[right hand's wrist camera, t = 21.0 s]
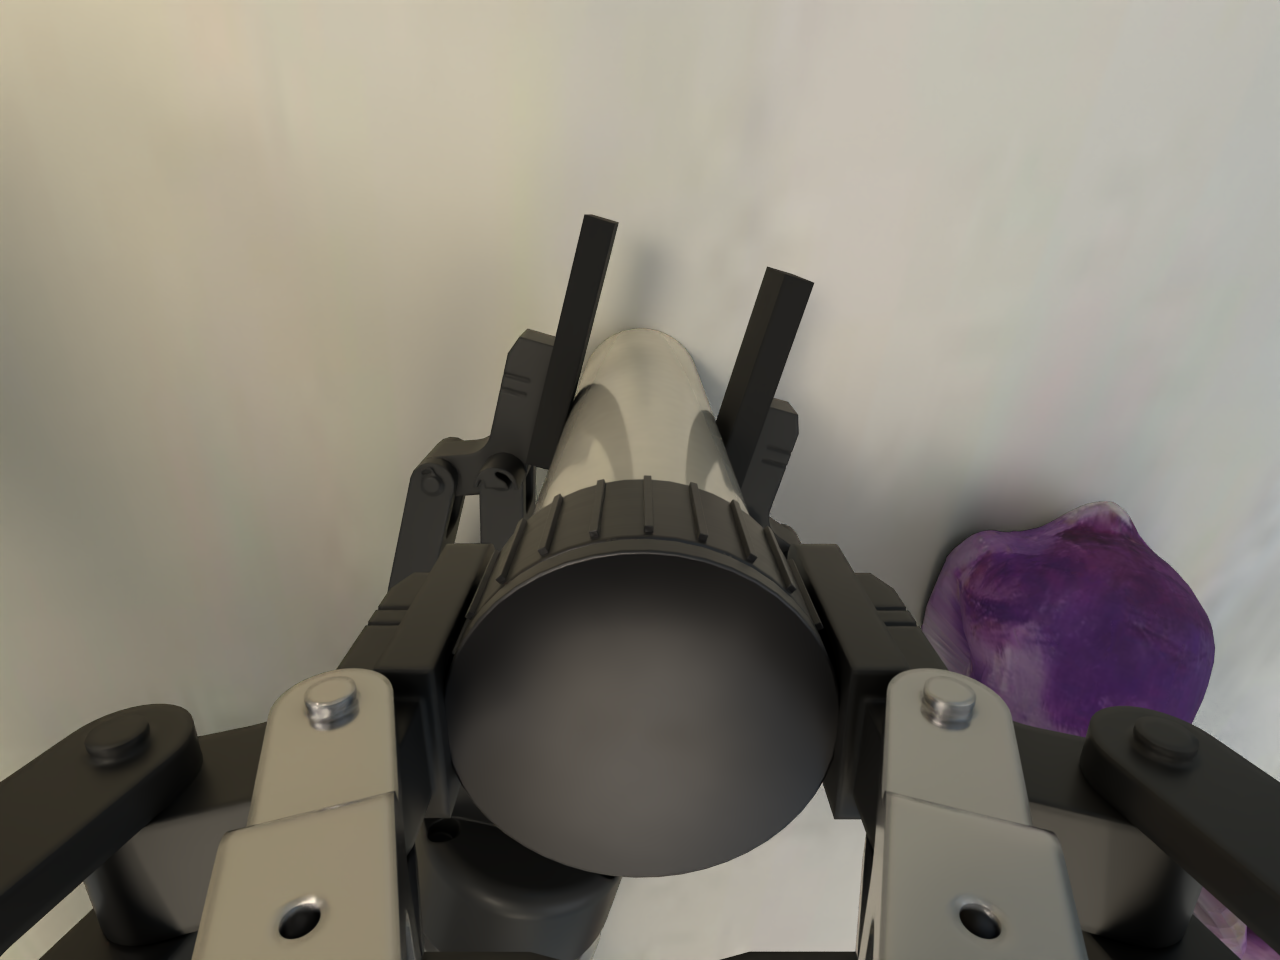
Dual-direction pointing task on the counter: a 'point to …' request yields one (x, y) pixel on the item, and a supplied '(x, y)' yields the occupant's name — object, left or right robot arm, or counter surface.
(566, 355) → the left robot arm
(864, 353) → the counter surface
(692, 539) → the lid
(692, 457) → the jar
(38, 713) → the counter surface
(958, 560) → the figurine
